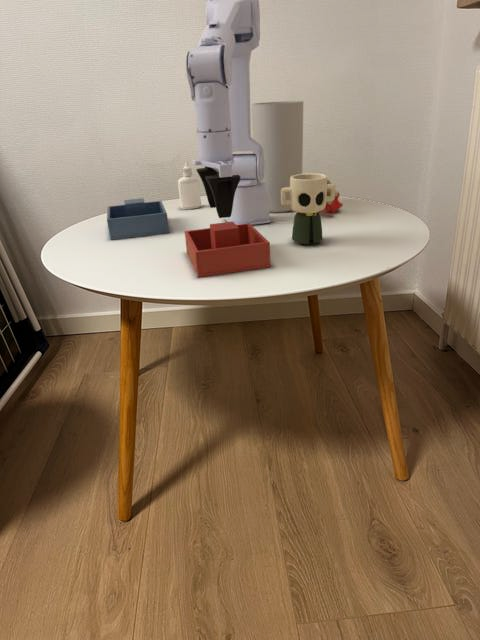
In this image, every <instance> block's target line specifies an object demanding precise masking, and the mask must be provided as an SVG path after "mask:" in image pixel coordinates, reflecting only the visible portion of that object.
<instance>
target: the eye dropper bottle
mask: <svg viewBox="0 0 480 640" xmlns="http://www.w3.org/2000/svg"><path fill="white" fill-rule="evenodd" d="M181 169H182V177H180V178H179V179H178V180H177V188H178V196H179V205H180V208H181V210H193V209H198V208H201V207H202V199H201V189H200V179H199V178H198V177H196V176H194V175H193V169H192V166H190V164H189V162H188V161H185V162H184V166H183V167H182V168H181Z"/></svg>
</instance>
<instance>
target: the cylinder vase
mask: <svg viewBox="0 0 480 640" xmlns="http://www.w3.org/2000/svg"><path fill="white" fill-rule="evenodd" d="M250 113H251V138H253V139H254V140H255V141H256V142H258V143H259V144H260V145H261V146H262V148H263V156H264V179H263V180H262V181H261V182H265V183H266V184H267V186H268V190H269V206H270V213H287V212H292V211H293V210H292V209H291V207H290V205H282V204H281V189H282V188H287V187H290V177H291V176H293V175H297V174H303V153H304V152H303V150H304V149H303V148H304V147H303V145H304V100H288V101H287V100H286V101H270V102H257V103H250ZM253 153H254V152H252V154H253ZM286 200H290V192H288V193H286Z"/></svg>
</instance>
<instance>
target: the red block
mask: <svg viewBox="0 0 480 640" xmlns="http://www.w3.org/2000/svg"><path fill="white" fill-rule="evenodd" d="M209 228H210V235H211V247H212V249H216V248H224V247H232V246H239V245H240V240H239V227H238V226H237V225H236V224H235V223H234V222H227V221H225V222H218V223H217V222H216V223H209Z"/></svg>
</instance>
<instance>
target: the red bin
mask: <svg viewBox="0 0 480 640" xmlns="http://www.w3.org/2000/svg"><path fill="white" fill-rule="evenodd" d="M237 226H238V227H239V240H240V245H239V246H232V247H224V248H216V249H212V247H211V235H210V227H208V228H207V227H206V228H200V229H191V230H190V229H189V230H184V238H185V239H184V240H185V248H186V254H187V256H188V259H189V260H190V264H191V266H192V267H193V270H194V271H195V274H196V276H197V278H204V277H210V276H217V275H225V274H231V273H238V272H245V271H252V270H253V271H254V270H258V269H265V268H270V267H271V242H270V241H269V240H268V239H267V238H266V237H265V236H263V234H261V232H259V231H258V229H256V228H255V227H254V225H251V224H250V223H248V224H239V225H237Z"/></svg>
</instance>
